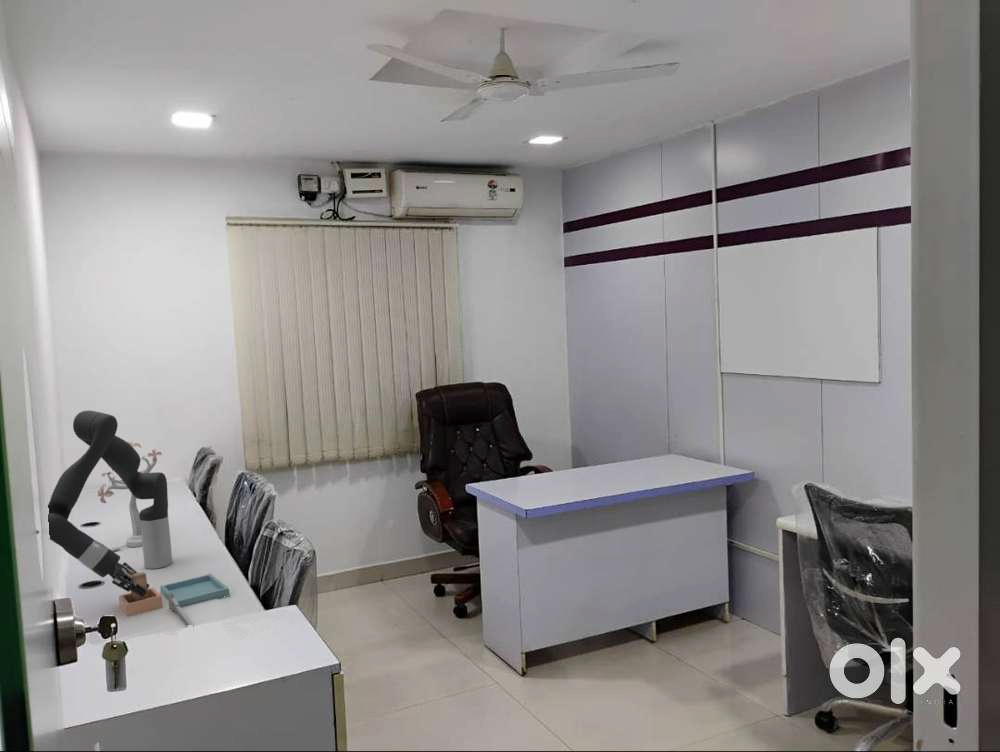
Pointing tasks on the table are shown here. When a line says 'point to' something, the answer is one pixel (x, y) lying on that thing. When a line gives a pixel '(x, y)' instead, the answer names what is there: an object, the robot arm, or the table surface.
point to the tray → (195, 590)
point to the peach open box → (140, 603)
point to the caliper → (177, 608)
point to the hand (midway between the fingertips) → (146, 591)
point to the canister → (142, 581)
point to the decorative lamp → (134, 513)
